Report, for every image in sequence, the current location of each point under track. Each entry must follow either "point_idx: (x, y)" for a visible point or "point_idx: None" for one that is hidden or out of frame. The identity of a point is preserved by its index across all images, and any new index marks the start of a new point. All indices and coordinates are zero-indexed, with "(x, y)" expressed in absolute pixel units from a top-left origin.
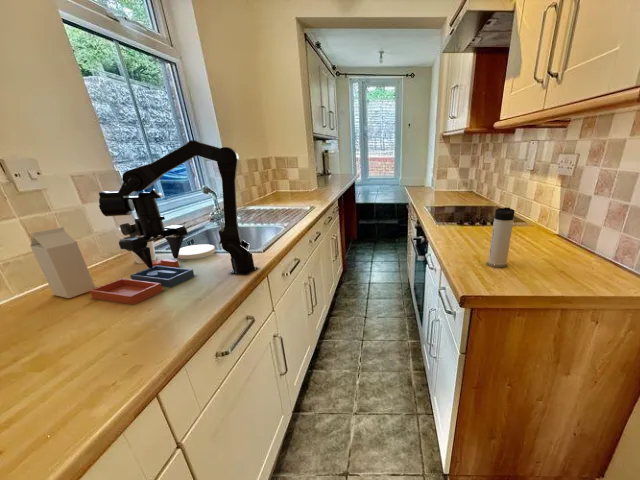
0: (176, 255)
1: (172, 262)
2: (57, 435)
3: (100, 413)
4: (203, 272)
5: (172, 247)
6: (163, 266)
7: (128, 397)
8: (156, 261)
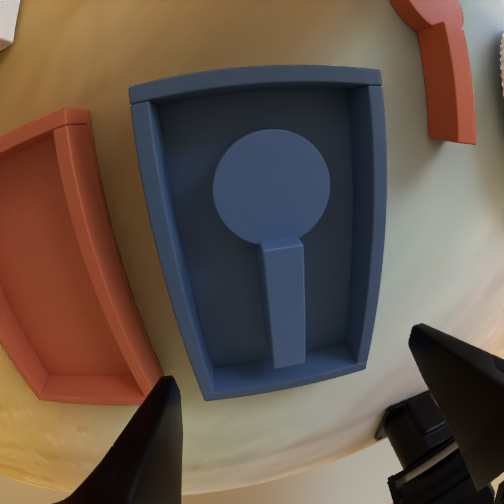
0: (419, 369)
1: (453, 126)
2: (6, 469)
3: (27, 479)
4: (397, 330)
5: (470, 393)
6: (380, 153)
7: (43, 486)
8: None
